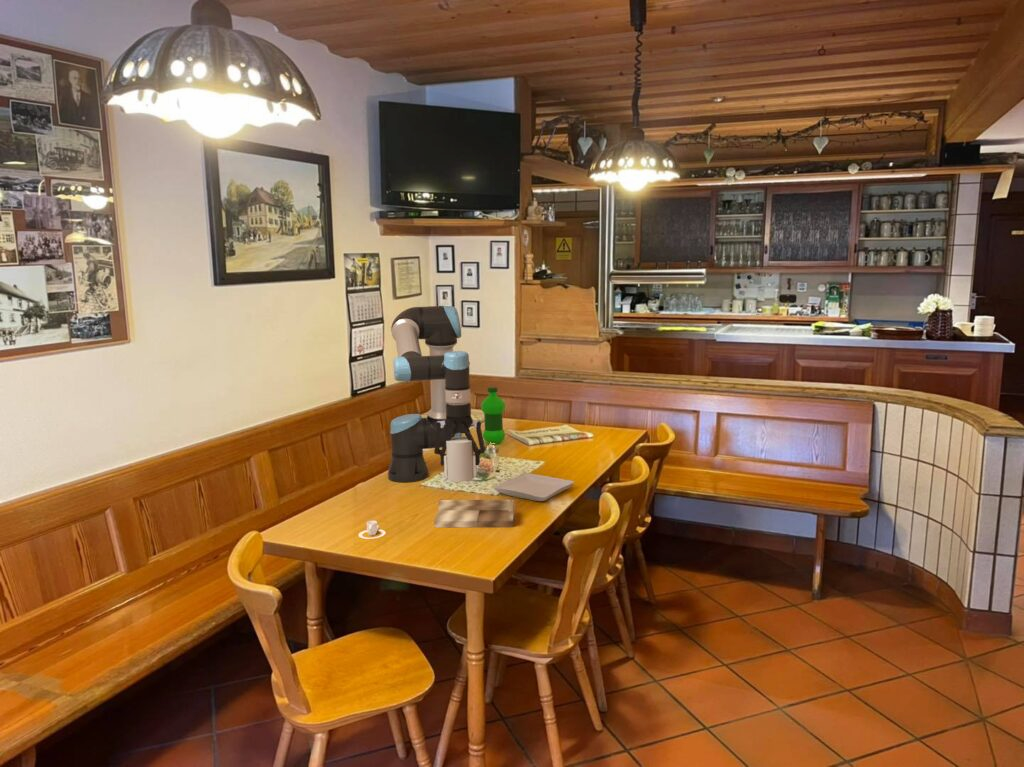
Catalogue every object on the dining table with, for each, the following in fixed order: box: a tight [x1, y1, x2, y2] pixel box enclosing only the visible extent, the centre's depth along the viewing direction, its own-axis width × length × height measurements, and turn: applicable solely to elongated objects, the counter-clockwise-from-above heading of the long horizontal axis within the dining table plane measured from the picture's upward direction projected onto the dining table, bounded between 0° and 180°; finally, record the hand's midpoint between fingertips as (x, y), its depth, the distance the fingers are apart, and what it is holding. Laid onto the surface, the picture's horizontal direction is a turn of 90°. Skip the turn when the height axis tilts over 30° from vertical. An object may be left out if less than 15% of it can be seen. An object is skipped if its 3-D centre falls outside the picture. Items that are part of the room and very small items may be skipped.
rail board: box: [433, 499, 516, 529], centre depth 229 cm, size 24×11×5 cm, turn 87°
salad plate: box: [493, 472, 575, 502], centre depth 257 cm, size 21×21×3 cm
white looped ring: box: [358, 520, 386, 540], centre depth 221 cm, size 9×8×4 cm
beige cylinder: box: [445, 436, 475, 483], centre depth 226 cm, size 8×8×12 cm
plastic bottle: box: [480, 386, 506, 445], centre depth 326 cm, size 10×10×25 cm
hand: (460, 475), depth 227 cm, fingers closed on beige cylinder, 8 cm apart
